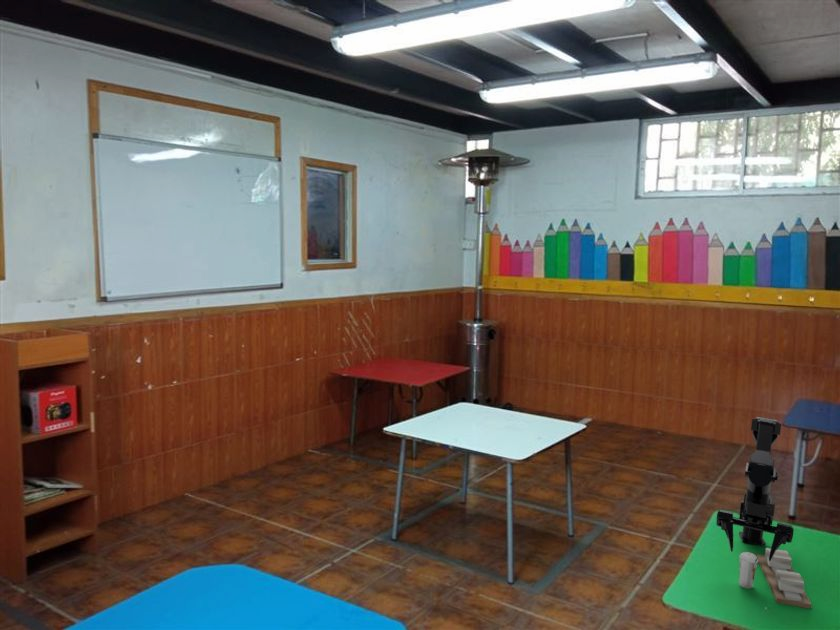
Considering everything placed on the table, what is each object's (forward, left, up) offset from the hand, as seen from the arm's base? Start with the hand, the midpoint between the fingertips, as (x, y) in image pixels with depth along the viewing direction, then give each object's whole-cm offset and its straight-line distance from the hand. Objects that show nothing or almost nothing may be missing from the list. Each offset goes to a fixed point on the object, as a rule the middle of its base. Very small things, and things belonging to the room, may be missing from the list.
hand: (750, 555), depth 181 cm
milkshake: (+1, 0, -9) cm, 9 cm away
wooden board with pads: (-5, +10, -8) cm, 14 cm away
